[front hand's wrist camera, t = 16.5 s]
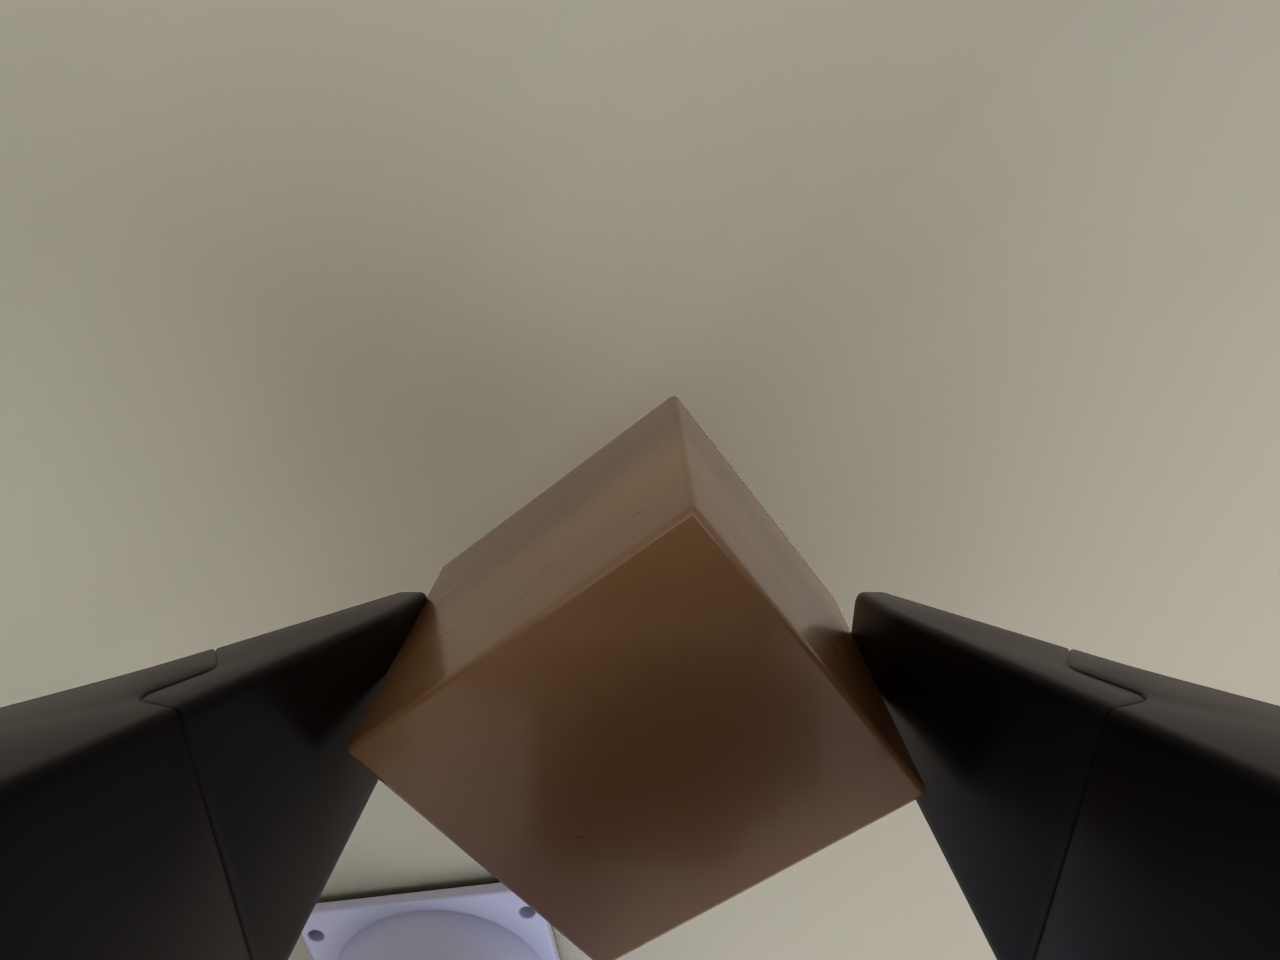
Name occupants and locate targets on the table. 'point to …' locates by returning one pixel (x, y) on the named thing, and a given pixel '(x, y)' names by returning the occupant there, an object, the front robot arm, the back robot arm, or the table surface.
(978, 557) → the table surface
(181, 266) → the table surface
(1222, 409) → the table surface
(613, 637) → the block
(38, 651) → the table surface
